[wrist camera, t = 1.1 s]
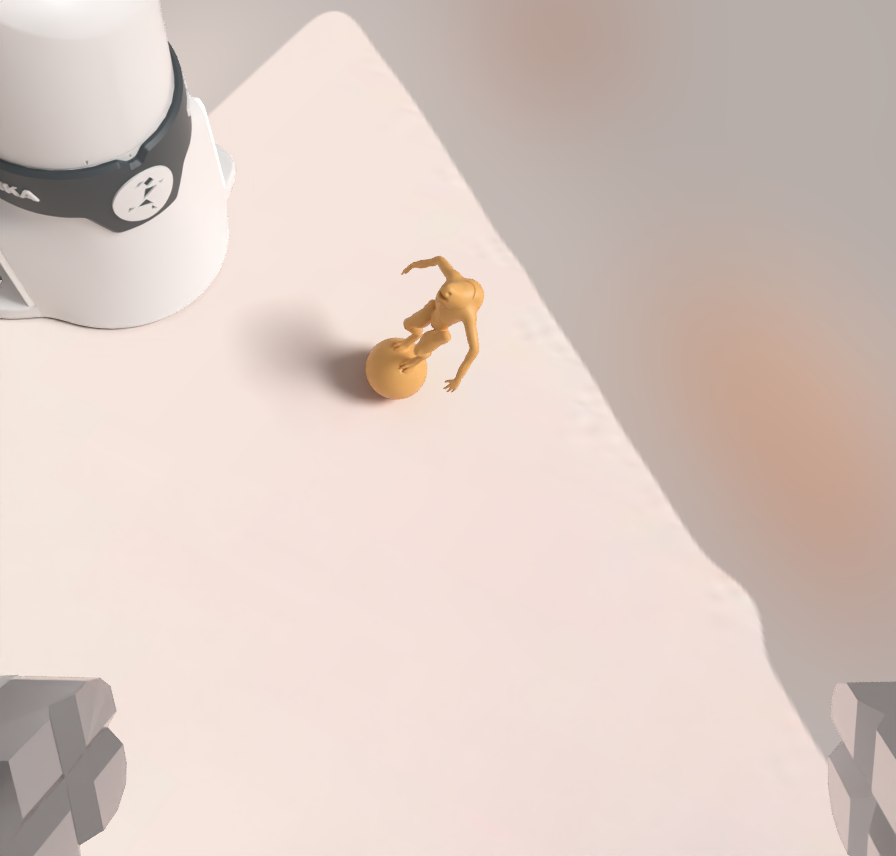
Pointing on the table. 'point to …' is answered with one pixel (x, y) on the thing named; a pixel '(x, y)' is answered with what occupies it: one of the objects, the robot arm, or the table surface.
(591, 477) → the table surface
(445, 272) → the figurine
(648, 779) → the table surface
